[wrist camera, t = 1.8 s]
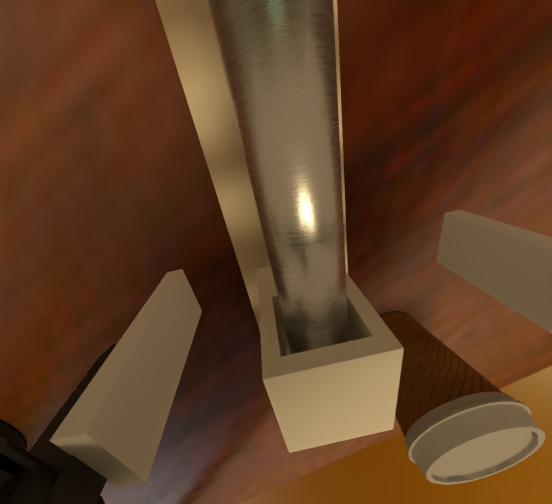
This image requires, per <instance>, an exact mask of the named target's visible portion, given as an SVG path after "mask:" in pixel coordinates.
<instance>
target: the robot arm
mask: <svg viewBox="0 0 552 504" xmlns="http://www.w3.org/2000/svg"><path fill="white" fill-rule="evenodd" d="M436 262H438V263H440V264H441V265H443V266H444V267H446V268H448V269H449V270H451V271H452V272H454V273H456V274H457V275H459V276H460V277H462V278H464V279H465V280H467V281H468V282H470V283H471V284H473V285H475V286H476V287H478V288H479V289H481V290H483V291H484V292H486V293H487V294H489V295H491V296H492V297H494V298H495V299H497V300H499V301H500V302H502V303H503V304H505V305H507V306H508V307H510V308H511V309H513V310H515V311H516V312H518V313H519V314H521V315H523V316H524V317H526V318H527V319H529V320H531V321H532V322H534V323H535V324H537V325H539V326H540V327H542V328H543V329H545V330H546V331H548V332H550V333H551V334H552V238H551V237H548V236H545V235H542V234H538V233H535V232H532V231H528V230H525V229H522V228H518V227H515V226H512V225H509V224H505V223H502V222H499V221H495V220H492V219H489V218H485V217H482V216H479V215H476V214H472V213H469V212H466V211H462V210H457V211H453V212H448V213H445V215H444V221H443V226H442V232H441V237H440V242H439V248H438V253H437V259H436ZM201 312H202V310H201V308H200V306H199V303H198V301H197V299H196V297H195V295H194V293H193V291H192V288H191V286H190V284H189V282H188V280H187V278H186V276H185V273H184V271H183V269H181V270H176V271H171V272H167V273H166V275H165V276H164V278H163V279H162V281H161V282H160V283H159V285H158V286H157V288H156V289H155V291H154V292H153V293H152V295H151V296H150V298H149V299H148V301H147V302H146V303H145V305H144V306H143V308H142V309H141V311H140V312H139V313H138V315H137V316H136V318H135V319H134V321H133V322H132V323H131V325H130V326H129V328H128V329H127V331H126V332H125V333H124V335H123V336H122V338H121V339H120V341H119V342H118V343H117V344H113V345H112V346H111V347H110V348H109V349H108V350H107V351H106V352H105V353H104V354H102V355H101V356H100V357H99V358H98V359H97V361H96V362H95V363H94V365H93V366H92V367H91V369H90V370H89V372H88V373H87V376H86V377H84V378H83V380H82V381H81V382H80V384H79V385H78V386H77V390H76V391H74V392H73V393H72V394H71V396H70V397H69V398H68V400H67V401H66V403H65V404H64V405H63V407H62V408H61V409H60V411H59V412H58V413H57V415H56V416H55V417H54V419H53V420H52V421H51V423H50V424H49V425H48V427H47V428H46V429H45V431H44V432H43V434H42V435H41V436H40V438H39V439H38V440H37V442H36V443H35V444H34V446H33V447H32V448H31V450H30V451H29V452H28V451H26V450H25V448H26V446H25V442H24V440H23V438H22V437H21V436H20V435H19V434H18V433H17V432H16V431H15V430H13V429H12V428H10V427H9V426H7V425H5V424H3V423H1V422H0V504H105V503H104V500H103V498H102V497H101V496H100V494H101V492H102V490H103V487H104V485H105V483H106V481H109V482H110V483H112V484H113V485H114V486H116V487H117V488H123V487H128V486H133V485H138V484H143V483H147V480H148V477H149V474H150V471H151V468H152V465H153V461H154V458H155V455H156V452H157V449H158V446H159V443H160V440H161V437H162V433H163V430H164V427H165V424H166V421H167V418H168V415H169V412H170V409H171V406H172V402H173V399H174V396H175V393H176V390H177V387H178V384H179V381H180V378H181V374H182V371H183V368H184V365H185V362H186V359H187V356H188V353H189V350H190V347H191V343H192V340H193V337H194V334H195V331H196V328H197V325H198V322H199V319H200V315H201Z"/></svg>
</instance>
